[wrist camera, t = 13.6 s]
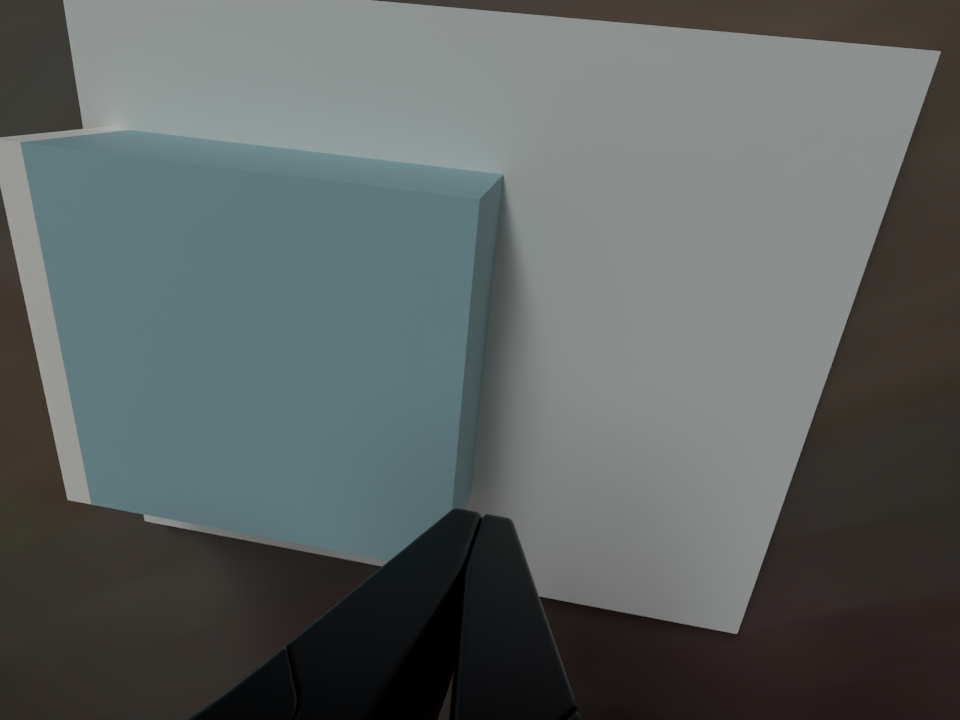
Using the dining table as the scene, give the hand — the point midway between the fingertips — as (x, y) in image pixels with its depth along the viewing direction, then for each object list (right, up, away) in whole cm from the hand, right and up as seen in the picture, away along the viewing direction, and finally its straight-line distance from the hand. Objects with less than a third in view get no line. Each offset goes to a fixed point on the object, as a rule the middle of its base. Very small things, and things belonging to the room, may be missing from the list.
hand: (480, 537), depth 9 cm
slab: (0, +2, +5) cm, 5 cm away
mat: (-1, +3, +7) cm, 7 cm away
